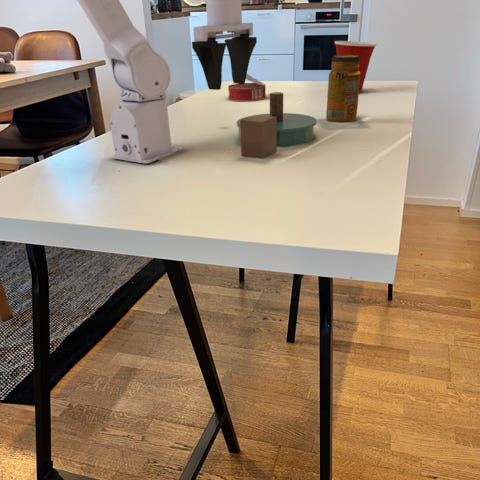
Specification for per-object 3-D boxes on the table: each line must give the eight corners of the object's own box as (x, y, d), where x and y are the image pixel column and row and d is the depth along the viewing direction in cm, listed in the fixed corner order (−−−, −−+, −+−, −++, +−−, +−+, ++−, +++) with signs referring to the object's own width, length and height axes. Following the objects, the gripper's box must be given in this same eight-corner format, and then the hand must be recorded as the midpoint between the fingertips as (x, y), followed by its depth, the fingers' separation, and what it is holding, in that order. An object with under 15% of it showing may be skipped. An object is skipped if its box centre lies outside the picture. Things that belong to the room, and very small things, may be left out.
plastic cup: (376, 94, 125) (381, 41, 118) (334, 95, 125) (337, 43, 118) (367, 88, 134) (372, 38, 127) (328, 89, 134) (331, 40, 128)
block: (262, 162, 76) (262, 122, 72) (241, 159, 77) (240, 120, 74) (276, 155, 79) (276, 116, 75) (255, 152, 81) (255, 114, 77)
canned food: (242, 113, 134) (251, 75, 132) (269, 112, 127) (278, 73, 126) (214, 97, 126) (222, 57, 124) (241, 96, 119) (250, 54, 118)
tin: (291, 153, 79) (291, 135, 78) (225, 145, 86) (224, 128, 84) (324, 136, 88) (325, 119, 87) (263, 130, 95) (263, 114, 93)
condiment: (354, 118, 101) (359, 53, 94) (364, 127, 94) (371, 57, 87) (319, 120, 101) (322, 55, 94) (326, 128, 94) (331, 59, 87)
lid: (293, 139, 78) (294, 102, 74) (221, 132, 84) (219, 97, 81) (329, 122, 87) (331, 89, 84) (262, 117, 94) (262, 85, 91)
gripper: (217, -9, 70) (222, 93, 77) (267, -9, 80) (267, 81, 87) (179, -7, 73) (187, 91, 80) (232, -7, 83) (235, 80, 90)
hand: (227, 86), depth 84 cm, fingers open, 7 cm apart
